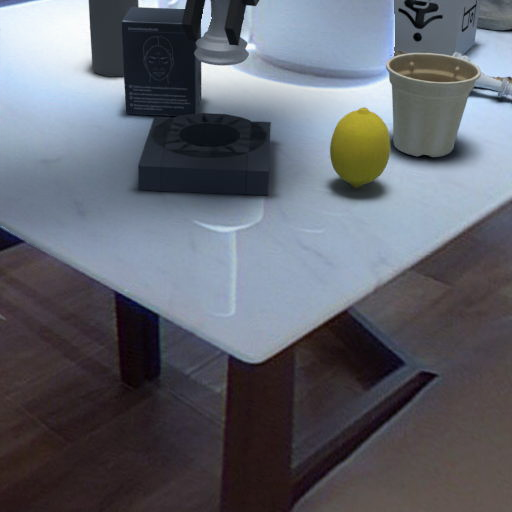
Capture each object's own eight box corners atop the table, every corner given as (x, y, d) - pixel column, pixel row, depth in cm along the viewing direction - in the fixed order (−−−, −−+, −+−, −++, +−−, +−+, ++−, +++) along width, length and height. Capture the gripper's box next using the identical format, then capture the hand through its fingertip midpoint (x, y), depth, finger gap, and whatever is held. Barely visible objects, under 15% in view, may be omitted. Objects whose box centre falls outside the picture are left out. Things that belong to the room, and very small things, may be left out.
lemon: (350, 205, 88) (358, 123, 84) (315, 182, 92) (321, 103, 88) (397, 192, 90) (407, 112, 86) (361, 170, 94) (369, 93, 90)
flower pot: (394, 122, 105) (403, 46, 101) (478, 140, 102) (491, 61, 98) (364, 153, 98) (372, 72, 94) (454, 172, 95) (466, 89, 90)
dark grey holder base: (138, 190, 89) (138, 165, 88) (156, 133, 101) (155, 110, 100) (267, 195, 89) (268, 171, 88) (270, 137, 101) (271, 115, 100)
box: (201, 100, 109) (202, 8, 104) (195, 118, 105) (195, 23, 99) (133, 96, 110) (130, 4, 105) (124, 114, 105) (120, 19, 100)
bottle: (83, 67, 118) (75, -58, 110) (121, 58, 121) (117, -64, 114) (110, 80, 114) (104, -49, 107) (150, 70, 118) (146, -55, 110)
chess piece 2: (442, 93, 116) (522, 120, 113) (441, 77, 112) (525, 105, 109) (455, 61, 116) (535, 87, 114) (456, 45, 112) (539, 71, 109)
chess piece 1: (252, 65, 81) (255, -31, 77) (196, 66, 80) (196, -30, 76) (245, 48, 85) (247, -44, 81) (192, 48, 84) (191, -44, 80)
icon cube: (485, -30, 126) (474, 44, 131) (412, -40, 130) (404, 32, 135) (463, -13, 118) (452, 65, 123) (387, -25, 122) (379, 52, 127)
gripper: (351, -172, 86) (310, 66, 80) (180, -182, 88) (128, 47, 83) (348, -235, 79) (302, 21, 73) (162, -244, 81) (104, 2, 76)
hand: (210, 34), depth 78 cm, fingers closed on chess piece 1, 3 cm apart
